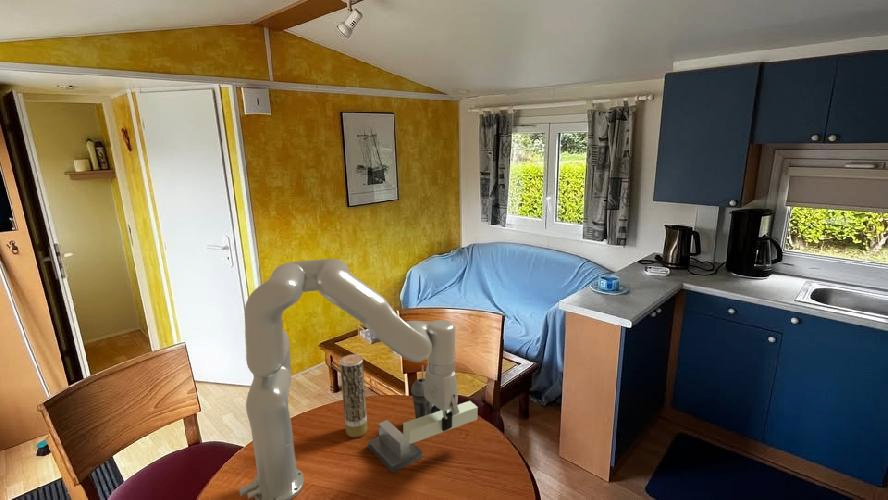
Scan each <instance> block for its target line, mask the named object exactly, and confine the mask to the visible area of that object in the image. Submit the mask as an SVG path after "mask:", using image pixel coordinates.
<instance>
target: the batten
mask: <svg viewBox="0 0 888 500" xmlns="http://www.w3.org/2000/svg"><path fill="white" fill-rule="evenodd" d="M457 407H458V409H459V413H458V414H456V415H454V416H452V427H451V428H450V429H448V430H446V431H443V430H442V418H443V411H442V410H441V411H438V412H435V413H432V414H429V415H426V416H423V417H420V418H417V419H416V418H414V419H411V420H408V421H405V422H403V424H402V425H403V428H402V429H403V430H402V431H403V432H402V433H403V436H404V437H405V438H406V440H407V441H408V442H409V443H410V444H411V443H413V444H415V443H417V442H419V441H421V440H425V439H427V438H430V437H433V436H436V435H438V434H442V433H444V432H447V431H449V430H452V429H455V428H458V427H461V426H464V425H466V424H468V423H472V422H475V421H478V417H479V416H478V409H479V407H478V406H477V405H476V404H475V403H473V402H472V401H471V400H468V401H465V402H462V403H459V404H457ZM448 412H449V409H448V410H447V413H448Z"/></svg>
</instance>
